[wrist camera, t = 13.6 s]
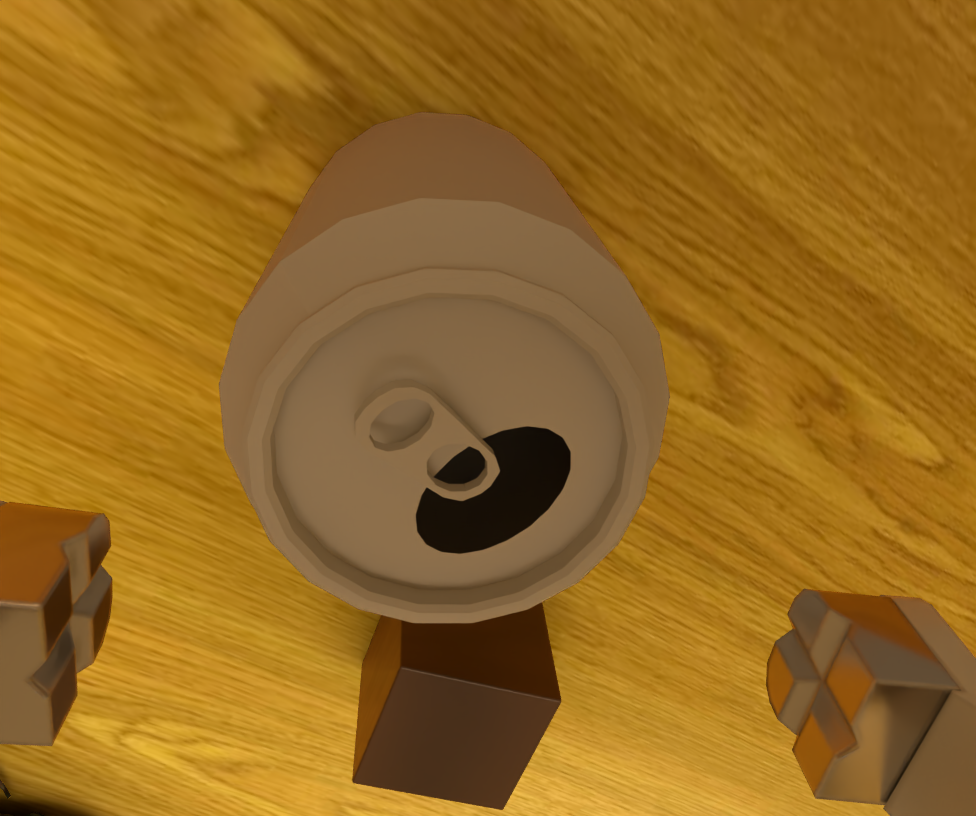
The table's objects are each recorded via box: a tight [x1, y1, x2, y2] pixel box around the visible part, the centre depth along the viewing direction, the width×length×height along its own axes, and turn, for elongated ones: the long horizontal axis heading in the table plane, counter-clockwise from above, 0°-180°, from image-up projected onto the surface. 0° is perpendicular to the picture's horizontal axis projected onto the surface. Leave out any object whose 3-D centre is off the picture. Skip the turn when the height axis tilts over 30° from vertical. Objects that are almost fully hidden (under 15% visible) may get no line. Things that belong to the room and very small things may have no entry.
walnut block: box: [352, 602, 561, 810], centre depth 27 cm, size 5×5×5 cm
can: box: [219, 112, 670, 623], centre depth 18 cm, size 8×8×12 cm
